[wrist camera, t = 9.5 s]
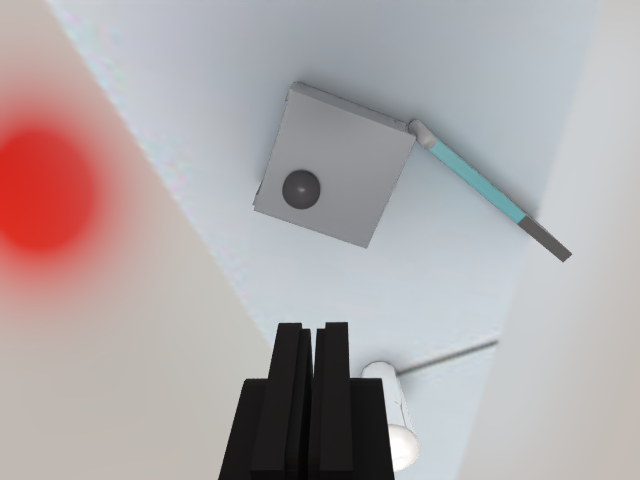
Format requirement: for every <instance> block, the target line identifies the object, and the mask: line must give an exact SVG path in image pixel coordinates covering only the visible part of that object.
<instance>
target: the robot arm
mask: <svg viewBox="0 0 640 480" xmlns="http://www.w3.org/2000/svg"><path fill="white" fill-rule="evenodd" d="M218 480H395V478H394V470H393V462H392V454H391V446H390V438H389V430H388V422H387V414H386V406H385V398H384V390H383V382H382V378H350V372H349V342H348V322H326V325H325V329H317V334H316V349H315V363H314V378H313V363H312V346H311V331H310V329H302V323H279V324H278V329H277V334H276V339H275V344H274V349H273V354H272V359H271V364H270V370H269V375H268V379H246V380H245V381H244V384H243V387H242V390H241V394H240V398H239V402H238V406H237V410H236V413H235V417H234V421H233V425H232V429H231V433H230V436H229V440H228V444H227V448H226V452H225V455H224V459H223V464H222V467H221V471H220V475H219V478H218Z"/></svg>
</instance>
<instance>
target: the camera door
mask: <svg viewBox="0 0 640 480" xmlns="http://www.w3.org/2000/svg"><path fill="white" fill-rule="evenodd" d="M409 131H410V133H411V134H414V135H415V136H416V137H417V138H416V140H417V142H418V143H419V144H420V145H421V147H422V148H424V149H427V150H429V151H430V152H431V153H432V154H433V155H435V156H436V157H437V158H438V159H439V160H441V161H442V162H443V163H444V164H445V165H447V166H448V167H449V168H450V169H451V170H453V171H454V172H455V173H456V174H457V175H459V176H460V177H461V178H462V179H464V180H465V181H466V182H467V183H468V184H470V185H471V186H472V187H473V188H474V189H476V190H477V191H478V192H479V193H480V194H482V195H483V196H484V197H485V198H486V199H488V200H489V201H490V202H491V203H492V204H494V205H495V206H496V207H497V208H498V209H500V210H501V211H502V212H503V213H504V214H506V215H507V216H508V217H509V218H510V219H512V220H513V221H514V222H515V223H516V224H518V225H519V226H520V227H521V228H522V229H524V230H525V231H526V232H527V233H528V234H530V235H531V236H532V237H533V238H534V239H536V240H537V241H538V242H539V243H541V244H542V245H543V246H544V247H545V248H546V249H548V250H549V251H550V252H551V253H553V254H554V255H555V256H556V257H557V258H558V259H560V260H561V261H562V262H564V261H565V260H566V259H567V258H569V257H570V256H571V255H572V254H571V252H569V251H568V250H567V249H566V248H565V247H564V246H563V245H562V244H561V243H560V242H558V240H556V239H555V238H554V237H553V236H552V235H551V234H550V233H549V232H548V231H547V230H546V229H545V228H543V227H542V226H541V225H540V224H539V223H538V222H536V221H535V220H534V219H533V218H532V217H530V216H529V215H528V214H527V213H526V212H525V211H523V210H522V209H521V208H520V207H519V206H517V205H516V204H515V203H514V202H513V201H512V200H510V199H509V198H508V197H507V196H506V195H504V194H503V193H502V192H501V191H500V190H499V189H497V188H496V187H495V186H494V185H493V184H491V183H490V182H489V181H488V180H487V179H486V178H484V177H483V176H482V175H481V174H480V173H479V172H477V171H476V170H475V169H474V168H473V167H471V166H470V165H469V164H468V163H467V162H466V161H464V160H463V159H462V158H461V157H460V156H458V155H457V154H456V153H455V152H454V151H453V150H451V149H450V148H449V147H448V146H447V145H445V144H444V143H443V142H442V141H441V140H440V139H438V138H437V137H436V136H435V135H434V134H433V133H432V132H431V131H430V130H429V129H428V128H427V127H426V126H425V125H424V124H423V123H422V122H421V121H419V120H414V121H412V122H411V123H410V124H409Z"/></svg>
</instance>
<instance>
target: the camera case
mask: <svg viewBox="0 0 640 480" xmlns="http://www.w3.org/2000/svg"><path fill="white" fill-rule="evenodd" d="M285 101H288V103H287V106H286V109H285V113H284V116H283V119H282V122H281V125H280V128H279V132H278V135H277V138H276V141H275V144H274V147H273V150H272V154H271V157H270V160H269V163H268V166H267V169H266V172H265V176H264V179H263V181H262V183H261V185H260V187H259V189H258V191H257V193H256V196H255V199H254V202H253V205H254V206H255V207H254V211H257V212H260V213H263V214H266V215H269V216H272V217H275V218H278V219H281V220H284V221H287V222H289V223H292V224H295V225H298V226H301V227H304V228H307V229H310V230H313V231H316V232H319V233H322V234H325V235H328V236H331V237H334V238H337V239H339V240H342V241H345V242H348V243H351V244H354V245H357V246H360V247H363V248H366V249H367V247H368V245H369V242H370V240H371V238H372V236H373V233H374V231H375V229H376V227H377V224H378V222H379V220H380V218H381V216H382V213H383V211H384V209H385V207H386V204H387V202H388V200H389V198H390V196H391V193H392V191H393V189H394V187H395V184H396V182H397V180H398V178H399V176H400V173H401V171H402V169H403V167H404V164H405V162H406V160H407V158H408V155H409V153H410V151H411V149H412V147H413V144H414V142H415V140H416V138H417V137H416V136H415V135H414V134H411V133H409V132H406V131H404V129H405V127H406V123H405V122H402V121H399V120H397V119H394V118H391V117H389V116H386V115H384V114H381V113H378V112H376V111H373V110H370V109H368V108H365V107H362V106H360V105H357V104H355V103H352V102H349V101H347V100H344V99H341V98H339V97H336V96H333V95H331V94H328V93H326V92H323V91H320V90H318V89H315V88H312V87H310V86H307V85H304V84H302V83H299V82H297V83H295V82H294V83H293V84H292V85H291V86H290V88H289V91H288V94H287V97H286V100H285Z"/></svg>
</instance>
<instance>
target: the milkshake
mask: <svg viewBox="0 0 640 480" xmlns="http://www.w3.org/2000/svg"><path fill="white" fill-rule="evenodd" d="M362 378H382V382H383V390H384V398H385V406H386V414H387V422H388V430H389V438H390V446H391V454H392V462H393V470H394V472H397V471H400V470H403V469H405V468H406V467H408V466H409V465H411V464H412V463H413V462H414V461H415V460H416V459H417V457H418V455H419V442H418V439H417V436H416V433H415V430H414V427H413V424H412V421H411V418H410V415H409V412H408V408H407V405H406V402H405V398H404V395H403V391H402V388H401V384H400V381H399V378H398V374H397V372H396V371H395V369H394V367H393V366H392V365H390V364H387V363H385V362H375V363H371V364H370V365H368V366H367V367H366V368H364V369H363V374H362Z"/></svg>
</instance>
